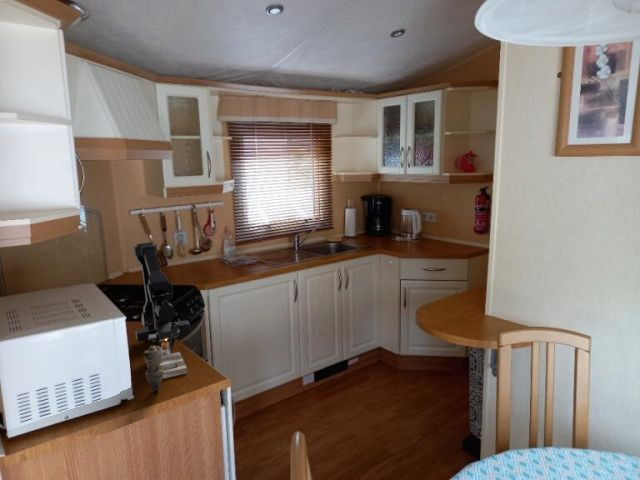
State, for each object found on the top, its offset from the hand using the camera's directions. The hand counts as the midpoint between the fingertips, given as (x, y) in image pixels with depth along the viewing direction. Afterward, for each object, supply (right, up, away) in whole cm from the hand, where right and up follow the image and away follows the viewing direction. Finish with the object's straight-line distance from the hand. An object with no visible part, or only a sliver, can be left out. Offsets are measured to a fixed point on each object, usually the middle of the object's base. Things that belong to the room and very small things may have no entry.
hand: (165, 352), depth 168 cm
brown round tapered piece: (0, -2, 0) cm, 2 cm away
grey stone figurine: (+6, -7, -24) cm, 26 cm away
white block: (+4, -3, -9) cm, 11 cm away
